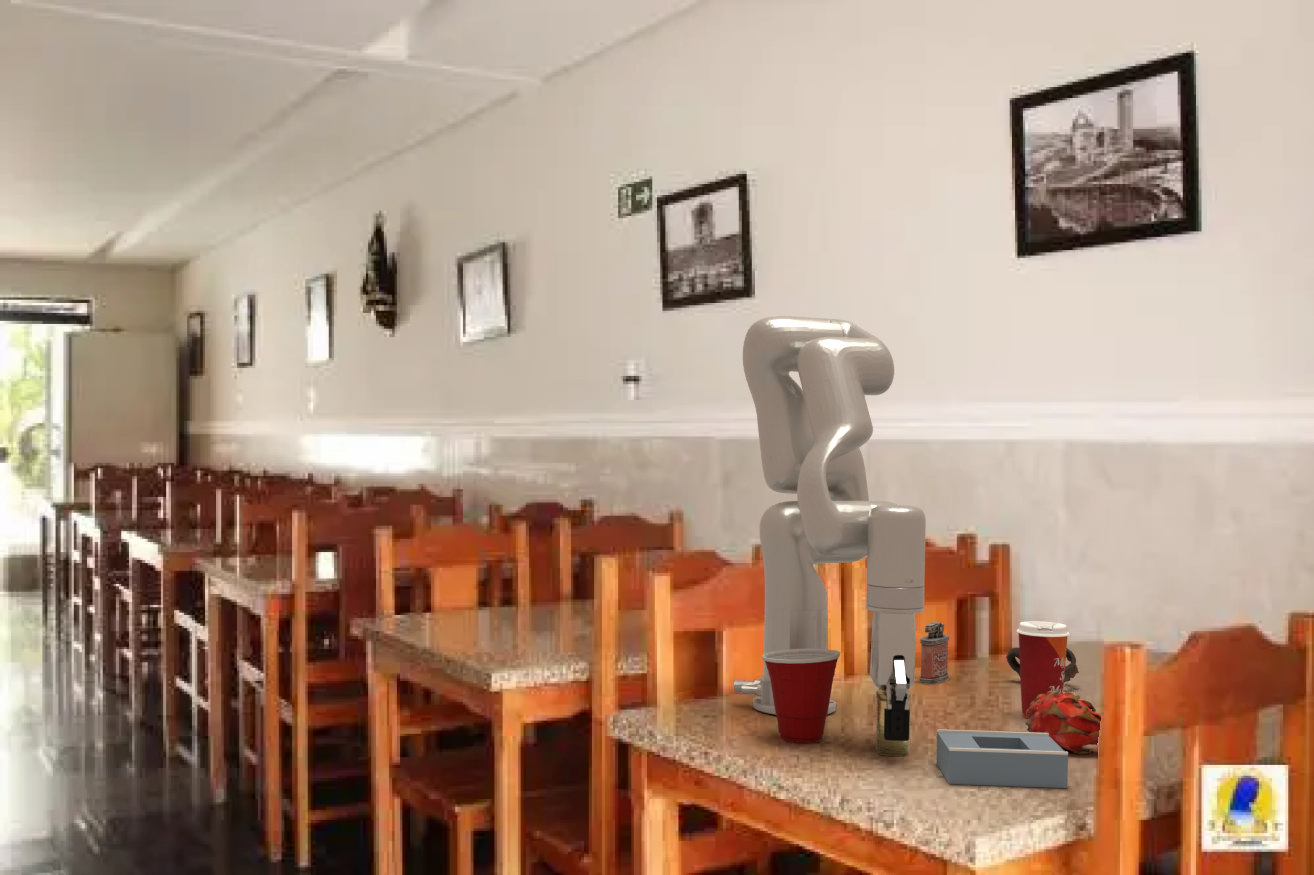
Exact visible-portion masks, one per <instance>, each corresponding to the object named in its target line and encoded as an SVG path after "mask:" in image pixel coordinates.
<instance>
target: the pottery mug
mask: <svg viewBox="0 0 1314 875" xmlns="http://www.w3.org/2000/svg"><path fill="white" fill-rule="evenodd" d="M1005 657H1006V658H1005V659H1006V661H1007V664H1008V665H1009V667H1010V668H1011V670H1013V671H1014V672H1016V673H1017V674H1018V677H1020V662H1019V661H1020V656H1019V647H1012V648H1010V649H1009V650H1008V652H1007V654H1006V656H1005ZM1017 658H1018V660H1019V661H1018V660H1017ZM1066 661H1069V662H1070V663H1069V664H1068V665H1065V676H1064V683H1067V682H1070V681H1071V679H1074V678H1075V676H1076V675H1077V674H1079V673H1080V672H1079V668H1078V665H1077V659H1076V655H1075V653H1073V651H1072V650H1070V649H1069V648H1067V650H1066Z"/></svg>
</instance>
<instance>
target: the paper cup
mask: <svg viewBox="0 0 1314 875" xmlns="http://www.w3.org/2000/svg"><path fill="white" fill-rule="evenodd" d="M1016 633H1017V634H1018V648H1019V656H1020V660H1019V664H1020V676H1019V679H1020V680H1019V681H1020V699H1021V701H1020V702H1021V714H1022V715H1021V716H1022V717H1023V718H1024V719H1027V720H1028V718H1027V717H1026V711H1027V709H1029V706H1030V704H1031V703H1032V702H1033V701H1034V700H1035V699H1036V697H1037V696H1038V695H1039V694H1047V692H1048V691H1057V690H1060V691H1059V693H1060V694H1061V695H1062V694H1064V688H1065V687H1064V686H1065V682H1064V676H1065V666H1066V661H1067V658H1066V650H1067V649H1068V647H1067V646H1068V637H1069V636H1071V634H1070V632H1069V631H1068V626H1067V624H1064V623H1061V622H1055V621H1045V620H1043V621H1042V620H1026V621H1021V622H1019V626H1018V628H1017V629H1016Z"/></svg>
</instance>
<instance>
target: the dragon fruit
mask: <svg viewBox="0 0 1314 875" xmlns="http://www.w3.org/2000/svg"><path fill="white" fill-rule="evenodd" d="M1059 691H1060V690H1057V691H1048V692H1047V694H1039V695H1038V696H1037V697H1036V699H1035V700H1034V701H1033V702H1032V703H1031V704H1030V706H1029V709H1027V711H1026V717H1027V718H1028V719H1027V718H1026V719H1027V721H1026V722H1025V725H1027V728H1026V732H1033V733H1049V737H1050V738H1052V739H1053V740H1054V741H1055V742H1056V743H1057V744H1058V745H1059V746H1060V747H1061V748H1062V749H1063V750H1068V751H1070V752H1072V753H1074V754H1077V755H1087V754H1091V753H1093V751H1092V750H1091V749H1083V750H1081V749H1082V748H1083V747H1086V746H1089V745H1091V746H1092V745H1093V746H1094V745H1095V746H1098V745H1097V743H1098V737H1099V730H1100V721H1101V713H1098V712H1097V710H1096V708H1095V706H1094V705H1093V704H1092V703H1091V702H1090V701H1087V700H1084V699H1080V698H1081V696H1080V695H1079V694H1076V695H1075V694H1074V693H1072V692H1070V691H1065V692H1063V694H1062V695H1061V694H1060V693H1059Z"/></svg>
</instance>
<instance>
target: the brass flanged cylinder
mask: <svg viewBox="0 0 1314 875" xmlns="http://www.w3.org/2000/svg"><path fill="white" fill-rule="evenodd" d="M891 694H892V692H891ZM911 695H912V694H911V691H910V690H908V696H909V710H910V711H911V699H912V698H911V697H912V696H911ZM875 699H876V703H875V704H876V705H875V706H876V710H875V711H876V712H875V713H876V714H875V753H876V754H879V755H882V756H888V757H904V756H909V755H910V752H911V750H910V749H911V748H910V744H911V743H910V741H911V739H910V738H911V737H910V734H911V728H910V729H909V740H908V741H892V740H885V738H884V708H886V709H887V702H886V688H885V689H879V688H878V689H876V691H875ZM891 699H892V698H891Z"/></svg>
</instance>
